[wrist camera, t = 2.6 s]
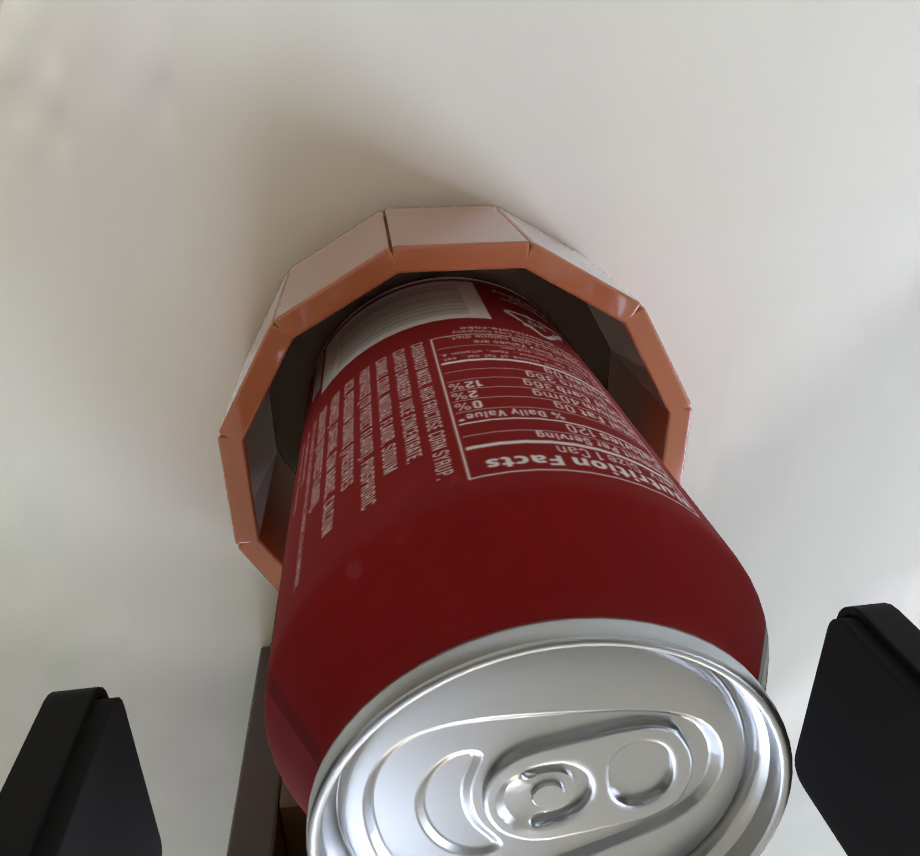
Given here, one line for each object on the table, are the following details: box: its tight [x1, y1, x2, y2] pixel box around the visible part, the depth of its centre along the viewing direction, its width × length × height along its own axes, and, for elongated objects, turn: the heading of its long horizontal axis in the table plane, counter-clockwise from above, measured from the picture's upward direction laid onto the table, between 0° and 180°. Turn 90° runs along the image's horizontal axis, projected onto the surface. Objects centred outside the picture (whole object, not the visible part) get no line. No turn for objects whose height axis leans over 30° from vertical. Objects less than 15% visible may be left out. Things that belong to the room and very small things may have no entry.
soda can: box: [264, 277, 793, 856], centre depth 14 cm, size 7×7×12 cm
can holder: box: [218, 205, 692, 591], centre depth 17 cm, size 10×10×4 cm
